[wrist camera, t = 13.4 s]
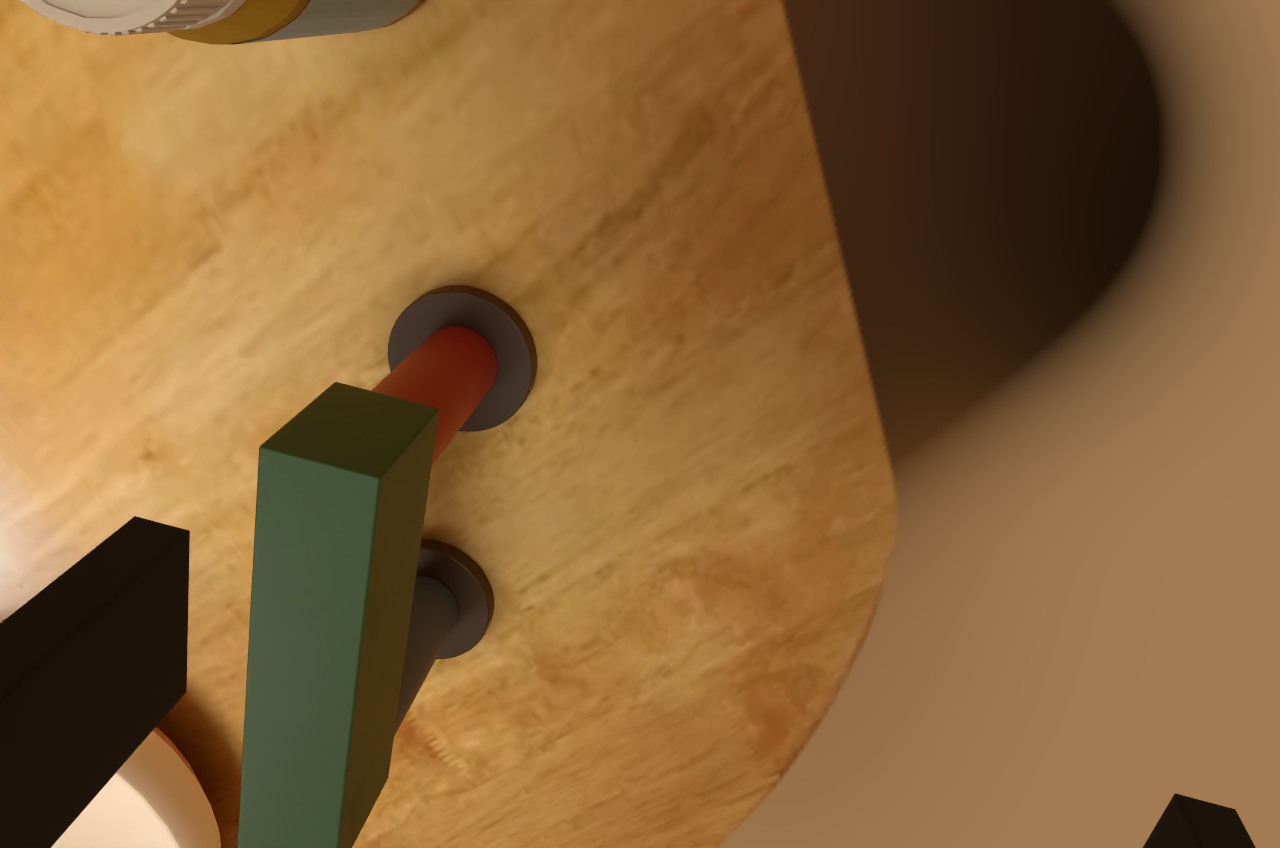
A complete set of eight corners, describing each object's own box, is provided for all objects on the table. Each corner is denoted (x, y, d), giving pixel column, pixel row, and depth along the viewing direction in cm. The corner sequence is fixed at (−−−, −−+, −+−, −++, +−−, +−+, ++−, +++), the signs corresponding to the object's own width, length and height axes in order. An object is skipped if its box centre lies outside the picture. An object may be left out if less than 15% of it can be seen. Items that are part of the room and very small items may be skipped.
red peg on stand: (548, 306, 39) (482, 389, 31) (524, 439, 42) (458, 549, 34) (402, 269, 40) (300, 342, 32) (387, 404, 42) (289, 504, 34)
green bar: (439, 407, 32) (380, 477, 27) (388, 777, 39) (333, 883, 34) (335, 380, 32) (258, 445, 27) (302, 754, 39) (236, 855, 34)
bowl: (96, 942, 60) (23, 1040, 54) (-149, 704, 54) (-257, 786, 49) (334, 840, 53) (280, 939, 48) (83, 559, 48) (-11, 634, 42)
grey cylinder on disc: (503, 557, 44) (436, 686, 36) (484, 663, 47) (418, 805, 39) (374, 524, 45) (279, 643, 37) (362, 630, 47) (271, 765, 39)
